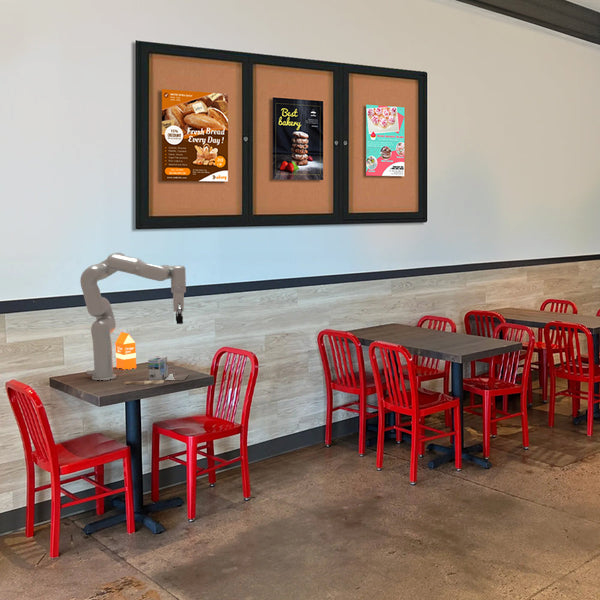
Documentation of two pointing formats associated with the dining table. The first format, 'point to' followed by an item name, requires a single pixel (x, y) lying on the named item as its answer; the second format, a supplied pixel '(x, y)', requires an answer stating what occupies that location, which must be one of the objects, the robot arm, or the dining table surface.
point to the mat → (170, 377)
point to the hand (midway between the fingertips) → (179, 322)
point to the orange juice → (125, 352)
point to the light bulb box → (158, 368)
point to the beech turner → (145, 382)
